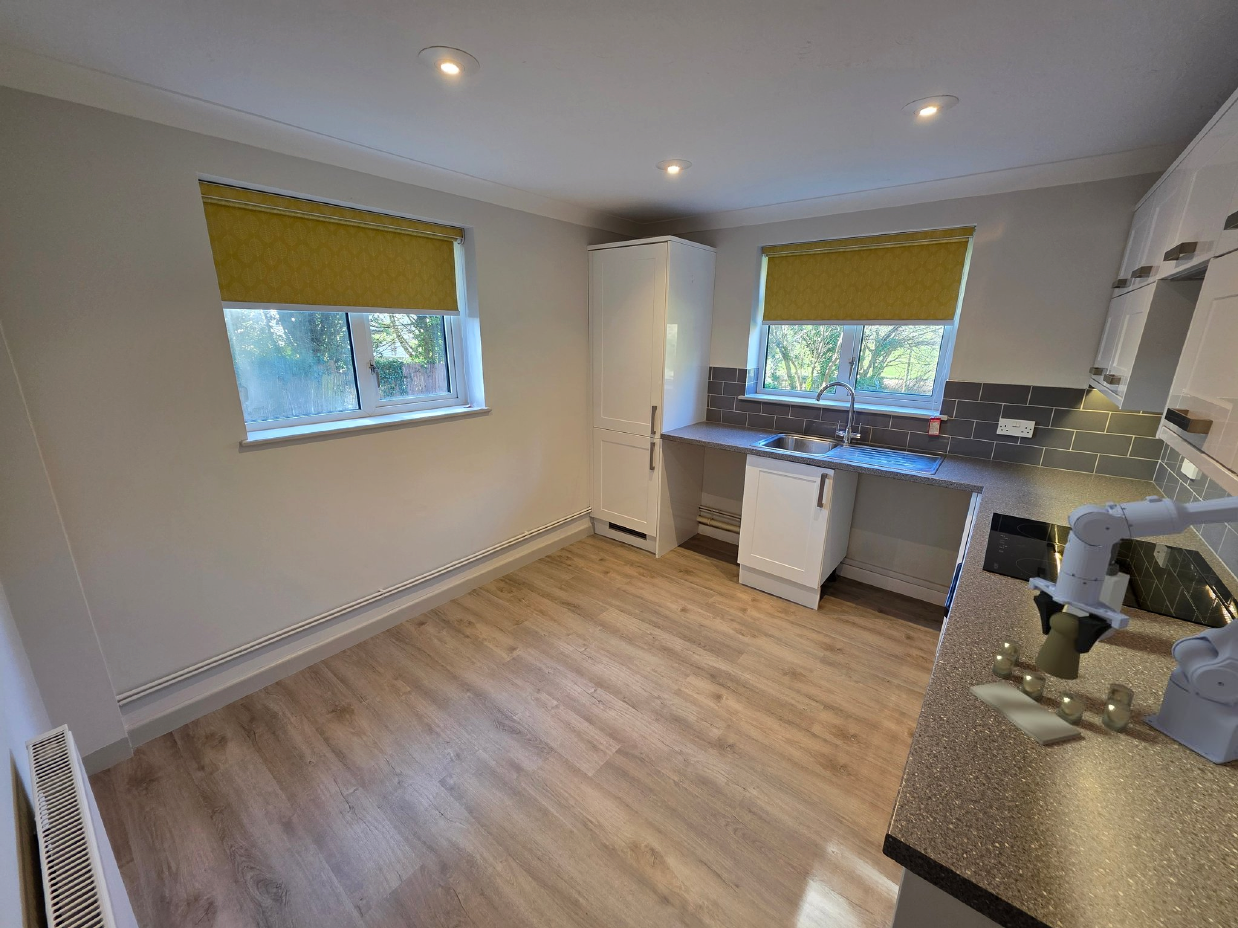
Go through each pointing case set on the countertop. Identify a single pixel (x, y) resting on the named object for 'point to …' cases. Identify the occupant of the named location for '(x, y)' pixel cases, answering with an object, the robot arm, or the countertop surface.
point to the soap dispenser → (1109, 589)
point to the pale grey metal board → (1025, 712)
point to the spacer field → (1070, 704)
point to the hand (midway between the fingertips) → (1064, 642)
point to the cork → (1061, 647)
